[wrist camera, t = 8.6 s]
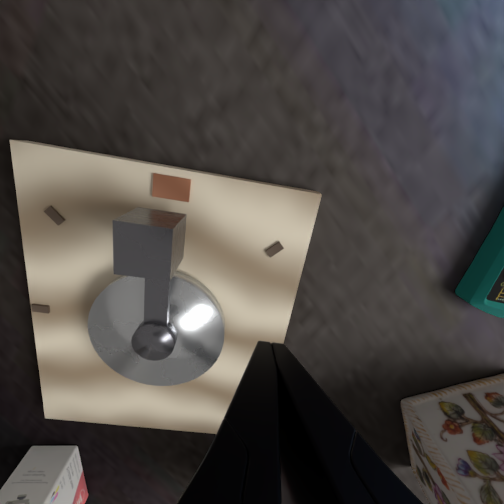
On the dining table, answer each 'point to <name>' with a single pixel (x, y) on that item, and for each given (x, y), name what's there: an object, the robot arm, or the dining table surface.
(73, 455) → the ink cartridge box
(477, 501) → the decorative jar
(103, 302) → the dial
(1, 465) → the dining table surface
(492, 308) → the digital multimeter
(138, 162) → the dial board
